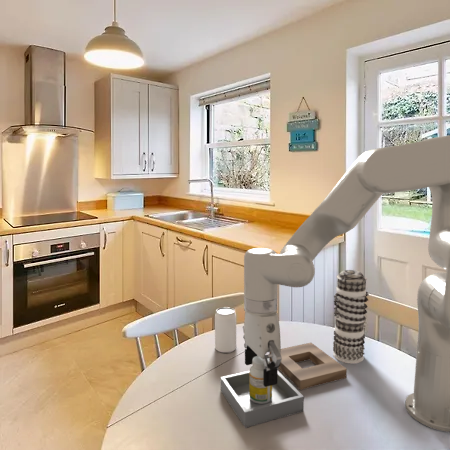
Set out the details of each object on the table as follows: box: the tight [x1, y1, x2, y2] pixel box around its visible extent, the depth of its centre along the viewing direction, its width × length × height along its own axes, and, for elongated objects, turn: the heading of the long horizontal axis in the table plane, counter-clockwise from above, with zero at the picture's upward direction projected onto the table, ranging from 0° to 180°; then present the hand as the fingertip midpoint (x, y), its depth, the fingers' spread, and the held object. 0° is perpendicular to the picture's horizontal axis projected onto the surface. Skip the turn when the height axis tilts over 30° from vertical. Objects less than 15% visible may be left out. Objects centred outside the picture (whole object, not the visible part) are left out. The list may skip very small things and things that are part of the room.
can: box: [214, 306, 237, 354], centre depth 113 cm, size 6×6×12 cm
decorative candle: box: [332, 269, 369, 364], centre depth 107 cm, size 9×9×25 cm
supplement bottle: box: [248, 356, 272, 404], centre depth 88 cm, size 5×5×10 cm
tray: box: [220, 369, 305, 429], centre depth 88 cm, size 14×14×4 cm
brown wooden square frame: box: [268, 342, 348, 391], centre depth 102 cm, size 16×14×2 cm
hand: (260, 373), depth 87 cm, fingers open, 9 cm apart
